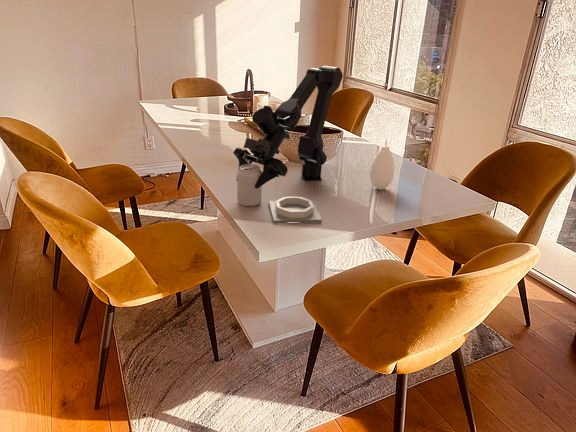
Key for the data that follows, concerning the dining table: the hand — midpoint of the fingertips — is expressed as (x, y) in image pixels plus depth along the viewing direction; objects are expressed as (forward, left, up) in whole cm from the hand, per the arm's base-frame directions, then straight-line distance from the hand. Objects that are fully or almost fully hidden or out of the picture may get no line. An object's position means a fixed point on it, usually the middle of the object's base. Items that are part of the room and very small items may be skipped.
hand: (246, 184), depth 137 cm
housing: (-14, +7, -7) cm, 17 cm away
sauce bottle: (-47, -11, -7) cm, 49 cm away
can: (-1, -1, -7) cm, 7 cm away
